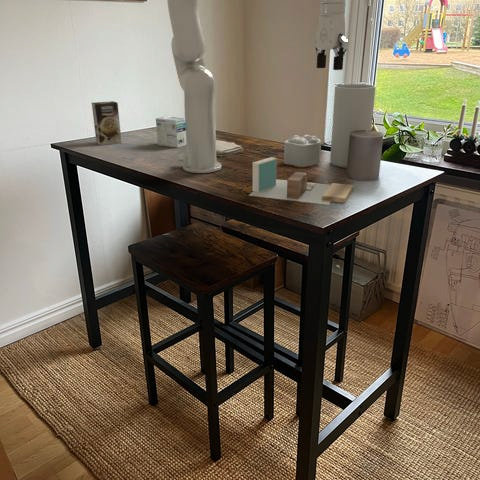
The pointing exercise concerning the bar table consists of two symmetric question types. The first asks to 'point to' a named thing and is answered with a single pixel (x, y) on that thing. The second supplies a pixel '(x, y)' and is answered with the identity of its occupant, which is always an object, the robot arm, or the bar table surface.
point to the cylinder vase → (350, 117)
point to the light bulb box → (171, 131)
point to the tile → (264, 174)
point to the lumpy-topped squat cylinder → (302, 151)
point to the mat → (281, 193)
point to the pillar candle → (364, 155)
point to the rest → (337, 192)
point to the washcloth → (227, 148)
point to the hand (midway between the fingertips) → (329, 68)
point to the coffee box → (106, 123)
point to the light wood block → (298, 185)
